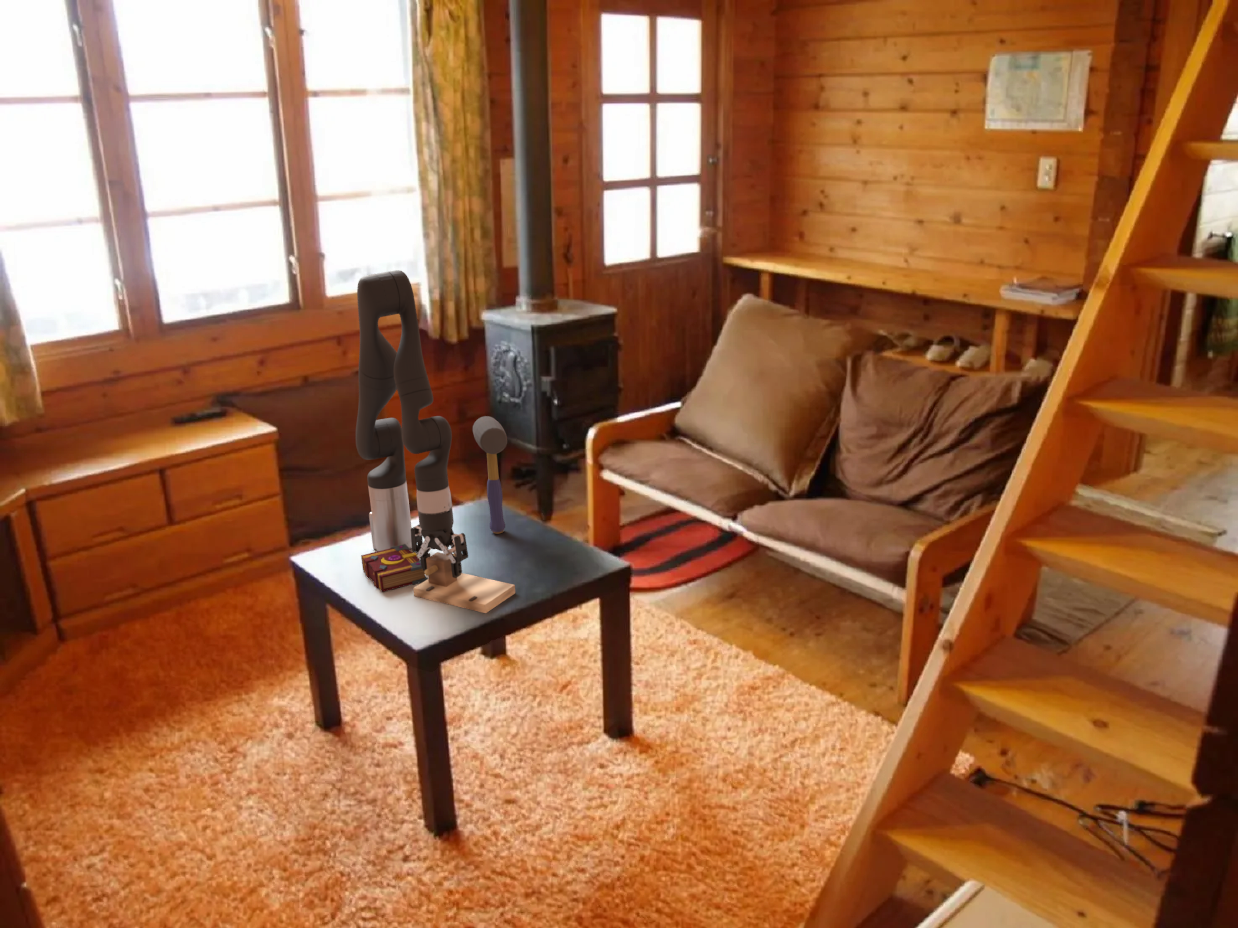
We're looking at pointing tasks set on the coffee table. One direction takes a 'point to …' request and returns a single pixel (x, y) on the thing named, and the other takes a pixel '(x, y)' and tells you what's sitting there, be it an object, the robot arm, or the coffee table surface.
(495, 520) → the rubber mallet
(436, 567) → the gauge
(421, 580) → the decorative book
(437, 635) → the coffee table surface
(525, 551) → the coffee table surface
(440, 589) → the board
